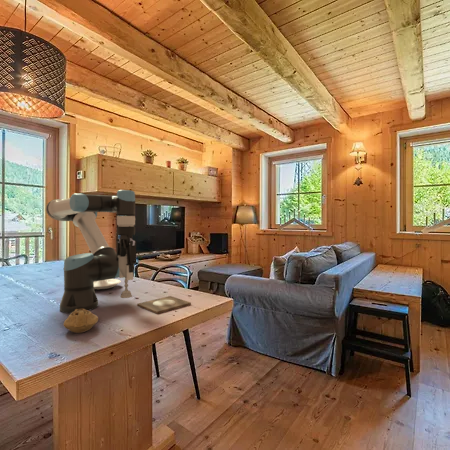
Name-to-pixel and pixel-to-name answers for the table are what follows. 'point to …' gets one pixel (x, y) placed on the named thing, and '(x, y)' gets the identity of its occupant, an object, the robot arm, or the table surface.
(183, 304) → the board
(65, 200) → the robot arm
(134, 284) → the table surface
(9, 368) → the table surface
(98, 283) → the candlestick
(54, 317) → the table surface
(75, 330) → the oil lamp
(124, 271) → the chalice
